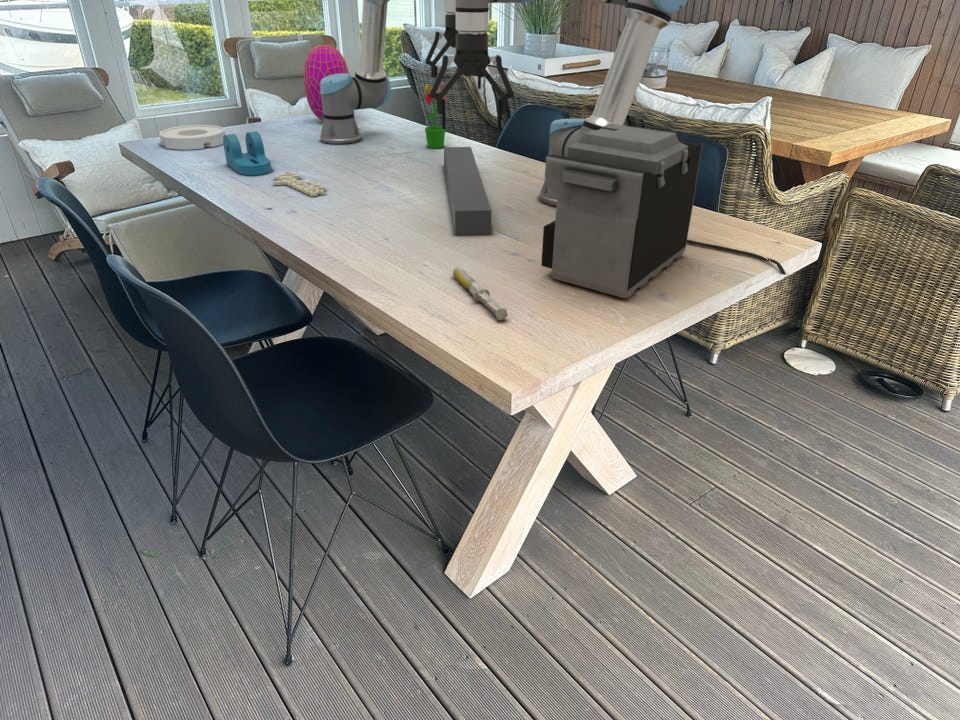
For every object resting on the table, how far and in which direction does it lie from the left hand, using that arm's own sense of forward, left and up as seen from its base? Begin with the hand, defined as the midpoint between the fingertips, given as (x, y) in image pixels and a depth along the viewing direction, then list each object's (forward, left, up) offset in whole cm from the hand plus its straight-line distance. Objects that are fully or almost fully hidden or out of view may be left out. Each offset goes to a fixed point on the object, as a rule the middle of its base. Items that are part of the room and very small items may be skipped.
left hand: (457, 88), depth 218 cm
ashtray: (-79, -72, -26) cm, 110 cm away
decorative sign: (-6, -53, -26) cm, 60 cm away
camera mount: (-32, -61, -26) cm, 74 cm away
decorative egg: (-92, -14, -26) cm, 97 cm away
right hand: (+53, -23, 0) cm, 58 cm away
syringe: (+91, -42, -26) cm, 103 cm away
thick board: (+26, -12, -26) cm, 39 cm away
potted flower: (-32, +7, -26) cm, 42 cm away
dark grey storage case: (+91, -6, -26) cm, 95 cm away
